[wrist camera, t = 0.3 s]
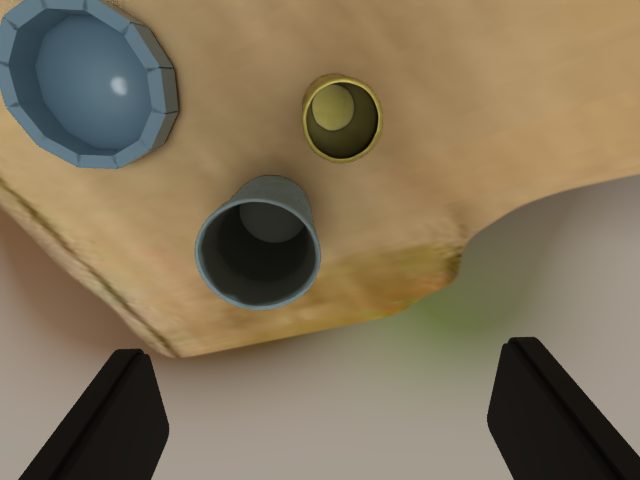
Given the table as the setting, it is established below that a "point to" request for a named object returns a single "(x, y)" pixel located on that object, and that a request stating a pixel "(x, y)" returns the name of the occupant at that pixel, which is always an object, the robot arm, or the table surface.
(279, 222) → the blue-grey cup
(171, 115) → the bowl
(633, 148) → the table surface
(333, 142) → the vase
